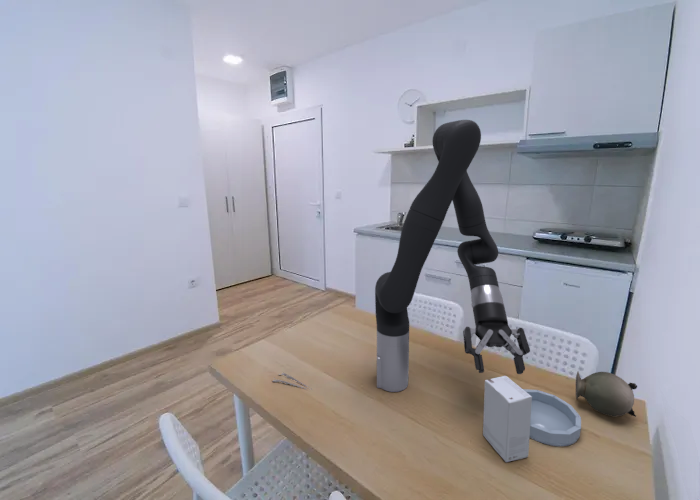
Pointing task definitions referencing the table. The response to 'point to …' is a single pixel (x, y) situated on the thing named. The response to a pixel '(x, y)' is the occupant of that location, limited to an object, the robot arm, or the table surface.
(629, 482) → the table surface
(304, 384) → the tweezers
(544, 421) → the bowl
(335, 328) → the table surface
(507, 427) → the skincare box
